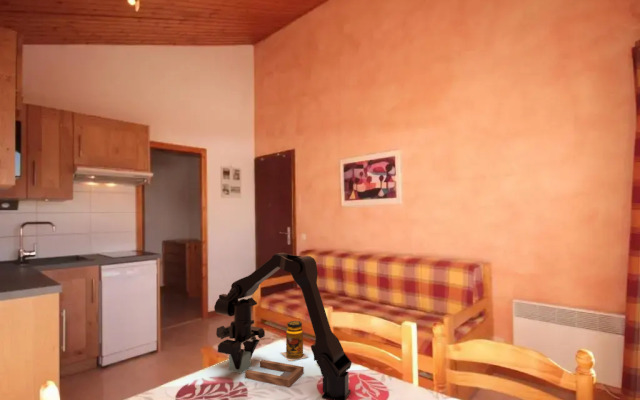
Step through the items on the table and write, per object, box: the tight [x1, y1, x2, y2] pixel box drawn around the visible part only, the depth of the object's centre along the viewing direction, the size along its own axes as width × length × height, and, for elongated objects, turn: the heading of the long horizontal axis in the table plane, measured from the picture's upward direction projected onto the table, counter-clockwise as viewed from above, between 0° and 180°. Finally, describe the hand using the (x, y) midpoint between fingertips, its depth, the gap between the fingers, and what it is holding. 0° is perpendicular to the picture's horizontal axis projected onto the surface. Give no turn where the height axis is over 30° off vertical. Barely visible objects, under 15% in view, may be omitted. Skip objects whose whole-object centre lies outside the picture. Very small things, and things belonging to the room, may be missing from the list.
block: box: [228, 351, 252, 374], centre depth 116 cm, size 5×5×5 cm
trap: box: [279, 371, 292, 377], centre depth 109 cm, size 4×6×1 cm, turn 157°
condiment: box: [280, 320, 309, 362], centre depth 127 cm, size 7×8×12 cm
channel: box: [244, 358, 305, 388], centre depth 111 cm, size 16×10×2 cm, turn 67°
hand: (242, 366), depth 116 cm, fingers closed on block, 5 cm apart
